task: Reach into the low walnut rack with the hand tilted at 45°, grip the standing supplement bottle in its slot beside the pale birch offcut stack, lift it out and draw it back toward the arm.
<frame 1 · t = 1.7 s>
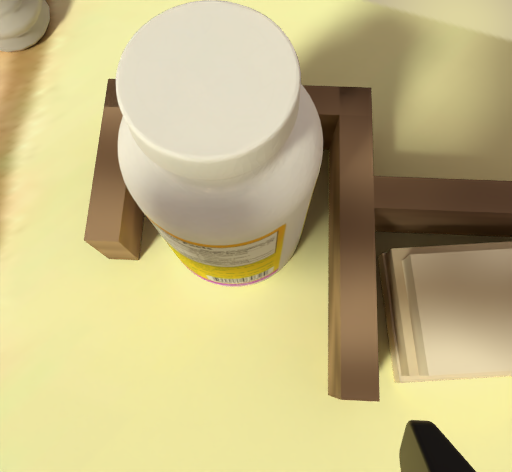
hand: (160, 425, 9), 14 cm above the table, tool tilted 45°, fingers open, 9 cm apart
rook chess piece: (17, 26, 28), on the table
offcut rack: (235, 225, 24), on the table
offcut stack: (455, 313, 23), on the table
supplement bottle: (235, 227, 24), on the table
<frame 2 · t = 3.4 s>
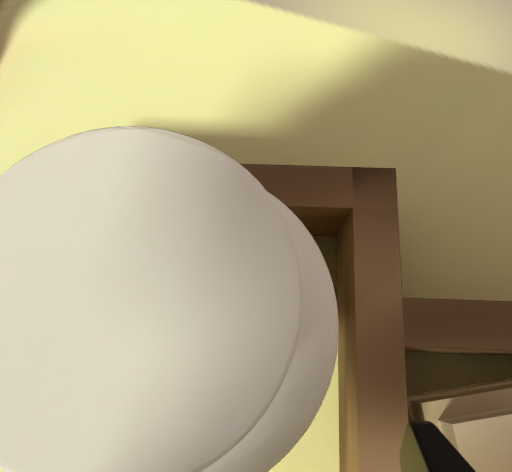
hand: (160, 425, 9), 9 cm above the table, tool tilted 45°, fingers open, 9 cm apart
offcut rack: (214, 344, 18), on the table
offcut stack: (510, 466, 17), on the table
supplement bottle: (215, 344, 18), on the table
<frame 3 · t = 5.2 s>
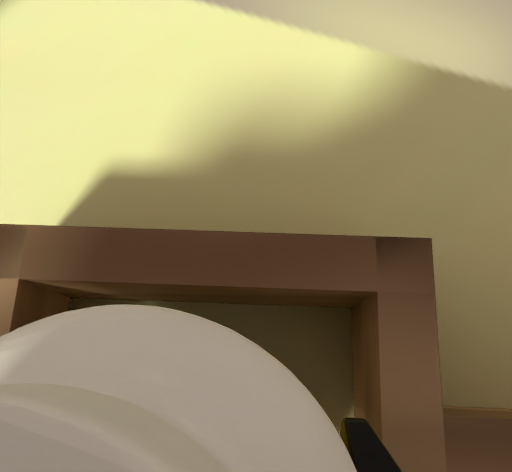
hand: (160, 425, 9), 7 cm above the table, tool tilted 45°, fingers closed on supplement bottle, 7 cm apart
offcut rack: (201, 447, 15), on the table
supplement bottle: (201, 446, 15), on the table, touching gripper
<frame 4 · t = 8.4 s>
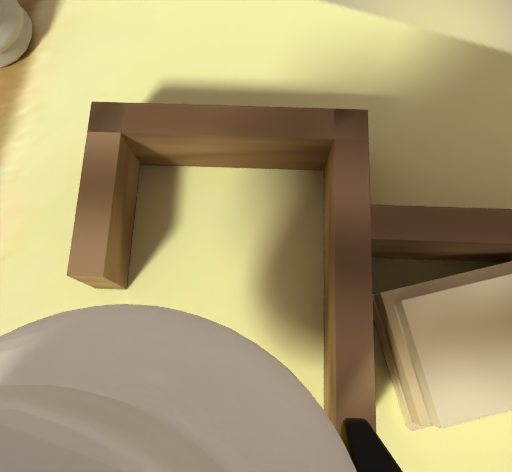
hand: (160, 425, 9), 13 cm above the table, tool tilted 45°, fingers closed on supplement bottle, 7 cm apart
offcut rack: (227, 252, 23), on the table
offcut stack: (455, 342, 22), on the table
supplement bottle: (203, 445, 15), point 7 cm above the table, touching gripper
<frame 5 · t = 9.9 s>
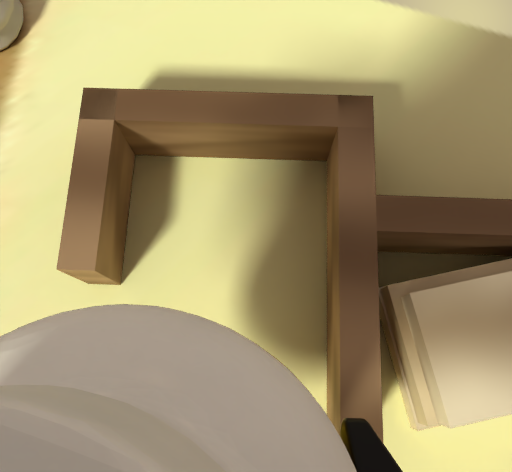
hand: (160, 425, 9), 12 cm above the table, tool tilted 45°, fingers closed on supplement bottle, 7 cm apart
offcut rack: (225, 246, 22), on the table
offcut stack: (463, 340, 21), on the table
supplement bottle: (203, 445, 15), point 5 cm above the table, touching gripper
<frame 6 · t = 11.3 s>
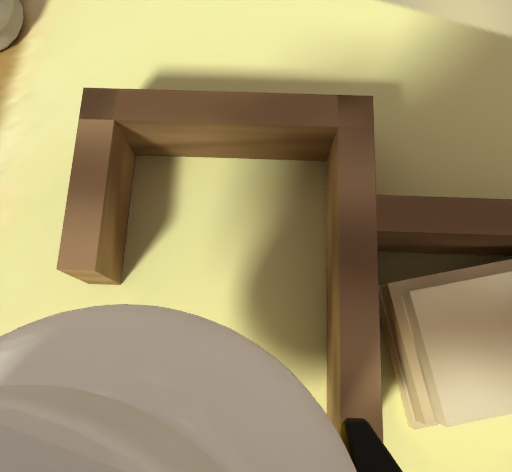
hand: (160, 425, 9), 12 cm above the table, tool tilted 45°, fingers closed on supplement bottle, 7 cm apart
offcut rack: (225, 246, 22), on the table
offcut stack: (463, 340, 21), on the table
supplement bottle: (203, 445, 15), point 5 cm above the table, touching gripper
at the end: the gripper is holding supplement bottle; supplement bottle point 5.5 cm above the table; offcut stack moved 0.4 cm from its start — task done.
